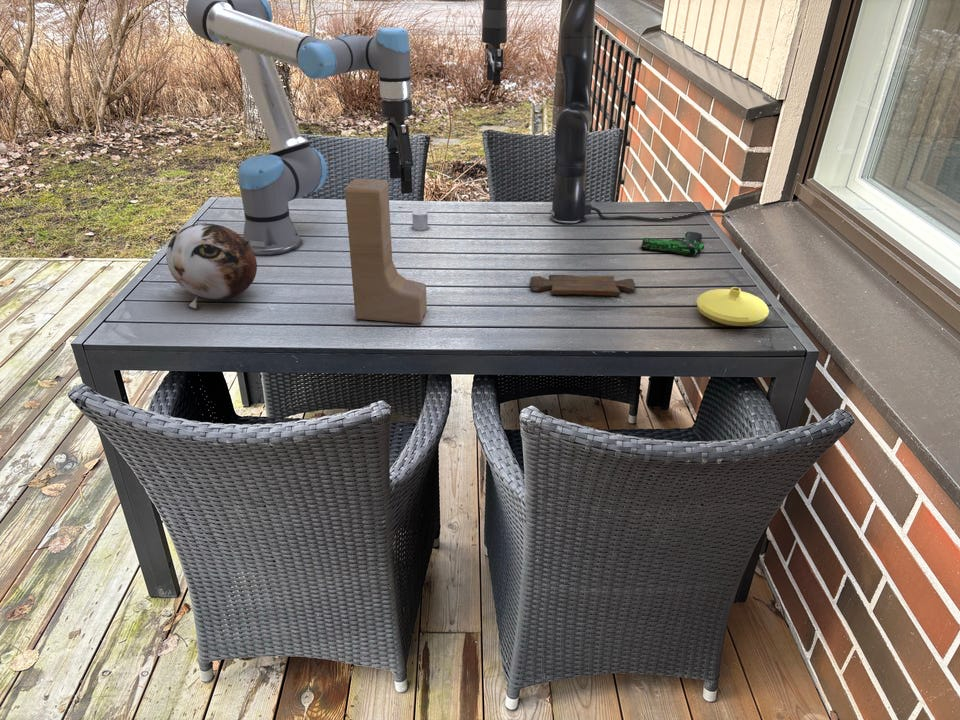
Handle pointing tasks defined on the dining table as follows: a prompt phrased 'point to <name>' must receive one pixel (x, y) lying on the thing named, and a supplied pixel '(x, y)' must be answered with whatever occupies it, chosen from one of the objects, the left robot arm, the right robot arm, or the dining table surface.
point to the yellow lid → (732, 307)
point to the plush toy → (211, 261)
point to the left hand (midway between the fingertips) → (400, 185)
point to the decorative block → (378, 258)
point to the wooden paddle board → (581, 285)
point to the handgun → (676, 244)
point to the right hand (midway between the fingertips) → (493, 82)
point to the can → (420, 220)
